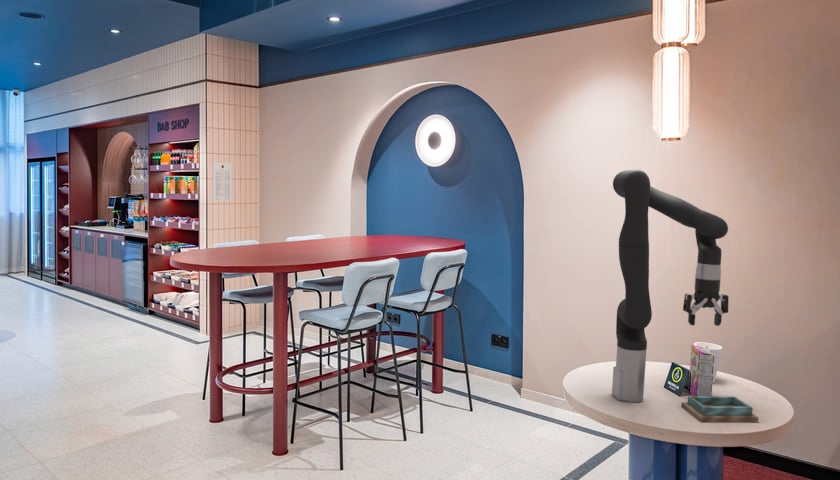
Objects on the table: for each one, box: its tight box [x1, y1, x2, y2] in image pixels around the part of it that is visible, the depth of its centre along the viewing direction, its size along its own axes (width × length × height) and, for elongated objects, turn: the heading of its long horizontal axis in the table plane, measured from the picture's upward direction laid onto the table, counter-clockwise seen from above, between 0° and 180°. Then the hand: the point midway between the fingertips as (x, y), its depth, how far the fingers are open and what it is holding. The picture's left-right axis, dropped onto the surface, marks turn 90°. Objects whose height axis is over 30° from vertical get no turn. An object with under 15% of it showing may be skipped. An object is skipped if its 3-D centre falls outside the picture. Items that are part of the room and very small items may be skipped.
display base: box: [680, 395, 759, 423], centre depth 187 cm, size 18×12×4 cm, turn 93°
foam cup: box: [693, 341, 723, 384], centre depth 219 cm, size 10×9×13 cm
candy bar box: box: [689, 344, 714, 396], centre depth 202 cm, size 11×5×16 cm, turn 168°
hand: (704, 325), depth 200 cm, fingers open, 8 cm apart
